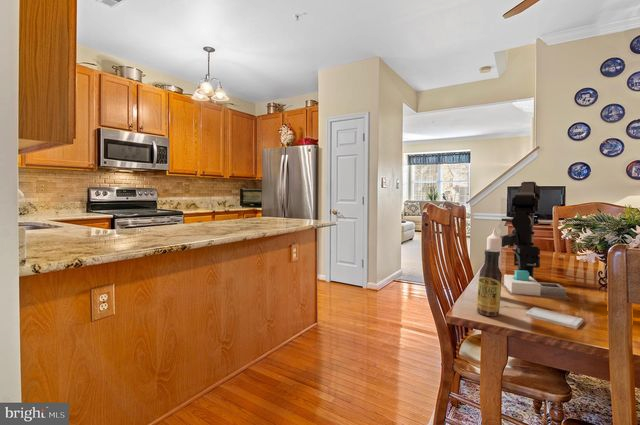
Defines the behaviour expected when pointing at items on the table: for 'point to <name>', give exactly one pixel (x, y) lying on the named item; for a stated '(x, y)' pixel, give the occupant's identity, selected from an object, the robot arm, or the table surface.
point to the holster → (552, 289)
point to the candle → (495, 244)
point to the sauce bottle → (489, 285)
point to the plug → (521, 275)
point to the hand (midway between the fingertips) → (521, 269)
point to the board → (542, 295)
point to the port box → (522, 285)
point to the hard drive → (554, 317)
